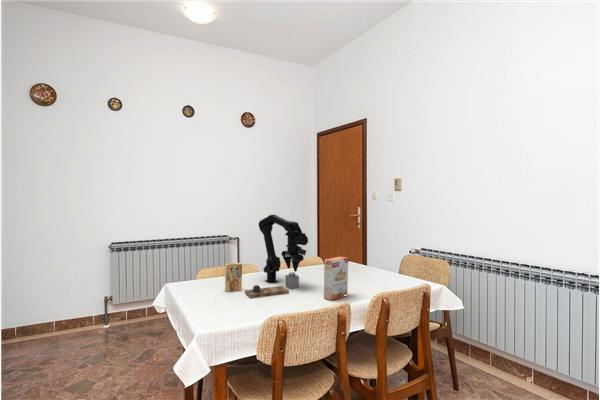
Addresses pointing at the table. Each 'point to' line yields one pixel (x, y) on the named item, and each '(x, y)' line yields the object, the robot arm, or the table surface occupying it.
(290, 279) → the metal cube with knob
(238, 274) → the candy box
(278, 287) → the brown flat block
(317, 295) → the table surface
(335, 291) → the cracker box
